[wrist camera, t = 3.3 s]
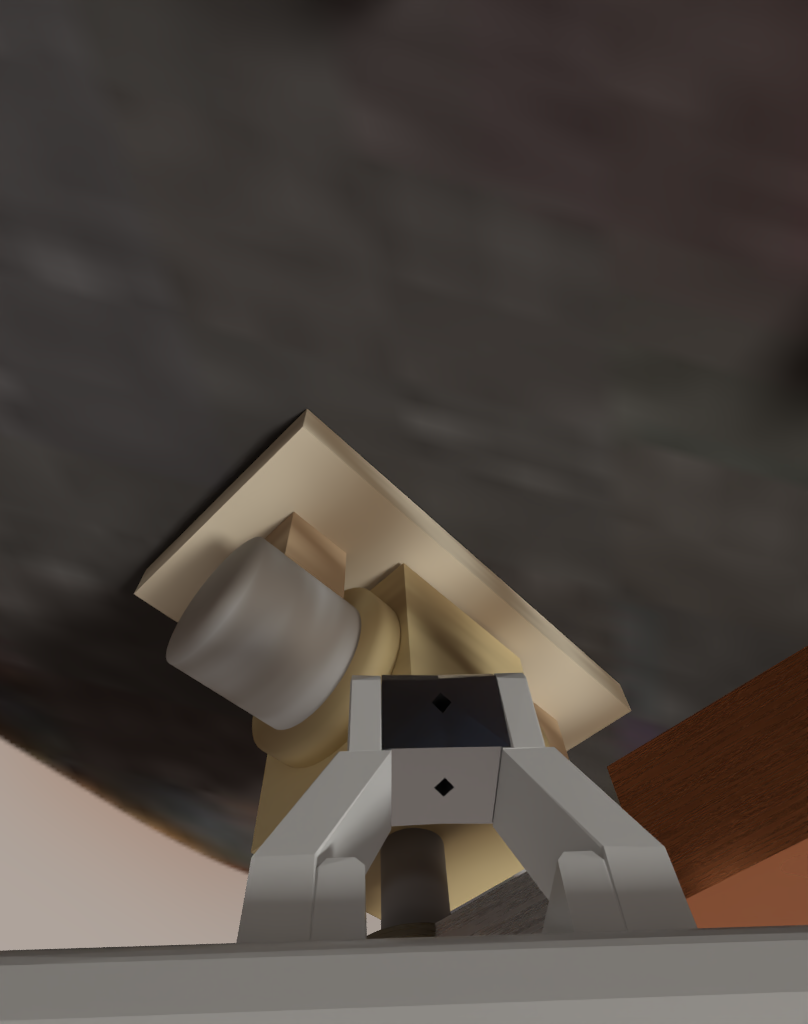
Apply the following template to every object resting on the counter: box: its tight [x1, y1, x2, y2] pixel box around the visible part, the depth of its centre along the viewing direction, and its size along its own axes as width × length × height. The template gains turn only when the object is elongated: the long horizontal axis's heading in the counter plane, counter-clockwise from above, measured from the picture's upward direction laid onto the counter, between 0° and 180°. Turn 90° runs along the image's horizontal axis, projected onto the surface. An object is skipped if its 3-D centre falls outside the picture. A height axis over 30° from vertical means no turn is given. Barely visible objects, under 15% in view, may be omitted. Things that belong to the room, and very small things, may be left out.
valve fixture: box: [134, 409, 631, 929], centre depth 22 cm, size 18×9×12 cm, turn 44°
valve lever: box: [367, 646, 808, 939], centre depth 14 cm, size 14×4×3 cm, turn 134°
